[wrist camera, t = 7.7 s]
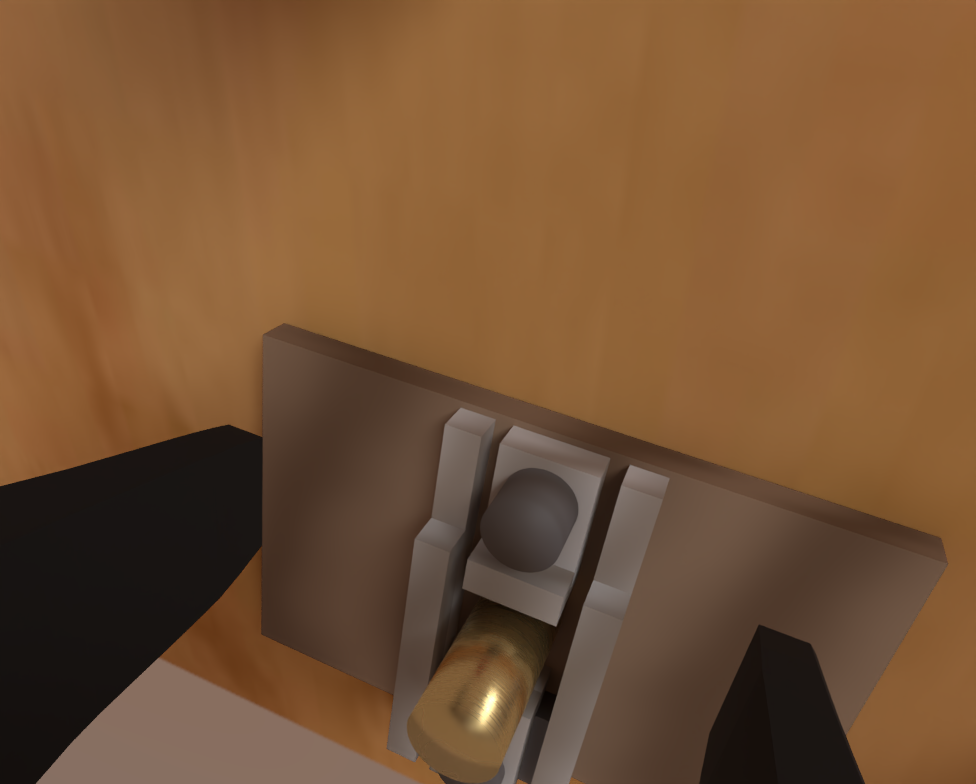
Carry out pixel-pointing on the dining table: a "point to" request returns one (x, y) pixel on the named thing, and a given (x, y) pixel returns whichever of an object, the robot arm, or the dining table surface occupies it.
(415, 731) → the brass pin
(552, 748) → the grey mounting plate
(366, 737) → the dining table surface
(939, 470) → the dining table surface
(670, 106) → the dining table surface
